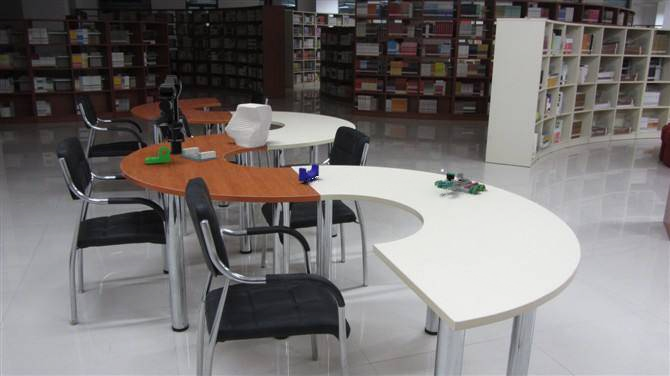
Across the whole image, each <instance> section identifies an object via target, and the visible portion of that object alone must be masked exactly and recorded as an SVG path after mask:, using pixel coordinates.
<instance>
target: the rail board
mask: <svg viewBox="0 0 670 376" xmlns="http://www.w3.org/2000/svg"><path fill="white" fill-rule="evenodd" d="M216 154H217V153H216V151H215V150H210V151H209V150H208V151H203V152H200V147H198V146H196V147H188V148H182V153H181V154H179V157H180V158H182V159H185V160H191V161H195V162H198V163H201V162H206V161H207V162H208V161H213V160H218V159H219V156H217V155H216Z"/></svg>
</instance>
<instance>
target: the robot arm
mask: <svg viewBox="0 0 670 376" xmlns="http://www.w3.org/2000/svg"><path fill="white" fill-rule="evenodd" d="M182 88H183V85H182V81H181V79H179V78H177V75H174V74H173V75H172V74H171V75H170V74H168V75H166V76H165V79H164V83H161V84H160V86H159V87H158V94H157V95H158V96H157V97H158V98H157V99H158V100H160V102H159V103H158V108H159V110H160V113H159V115H157V116H155V117H152V118H151V122H152V124H153V126H156V127H157V128H158V129H159V131H160V133H161V135H162V139H163V140H167V143H170V154H174V155H176V154H183V153H182V149H183V146H182V145H183V144H182V143H185V142H186V137H185V134H184V132H183V128H184V123H183V122H181V121H179V119H180V118H179V117H180V116H179V97H180V95H181V91H182V90H183V89H182Z"/></svg>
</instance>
